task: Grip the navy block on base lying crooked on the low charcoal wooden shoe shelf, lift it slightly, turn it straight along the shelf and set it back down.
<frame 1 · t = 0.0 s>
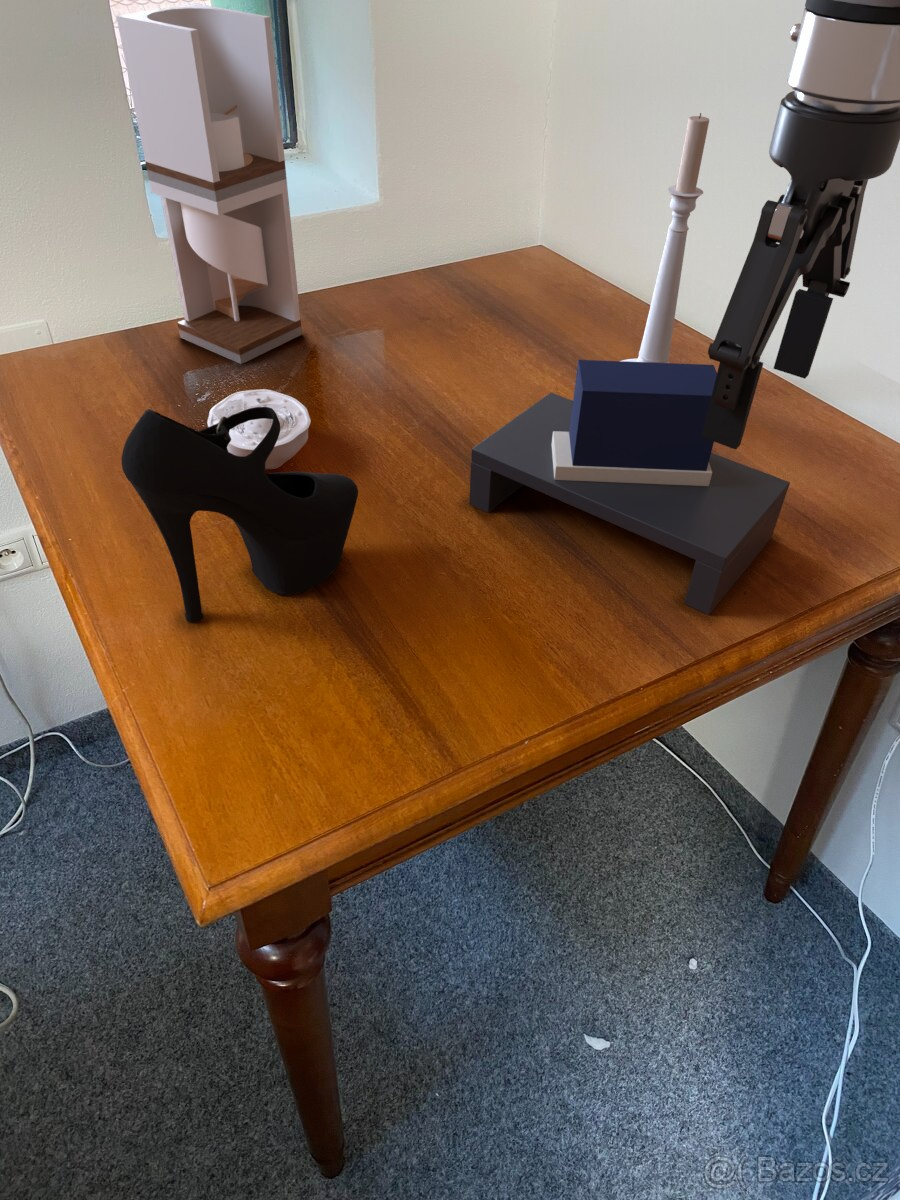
hand: (757, 405, 68), 18 cm above the table, tool pointing down, fingers open, 13 cm apart
high-heeled shoe: (266, 584, 78), on the table
navy block on base: (627, 464, 82), point 6 cm above the table, touching shoe shelf
shoe shelf: (617, 520, 86), on the table
cell model: (263, 458, 93), on the table
candlestick: (647, 392, 105), on the table
white architectural model: (241, 337, 114), on the table
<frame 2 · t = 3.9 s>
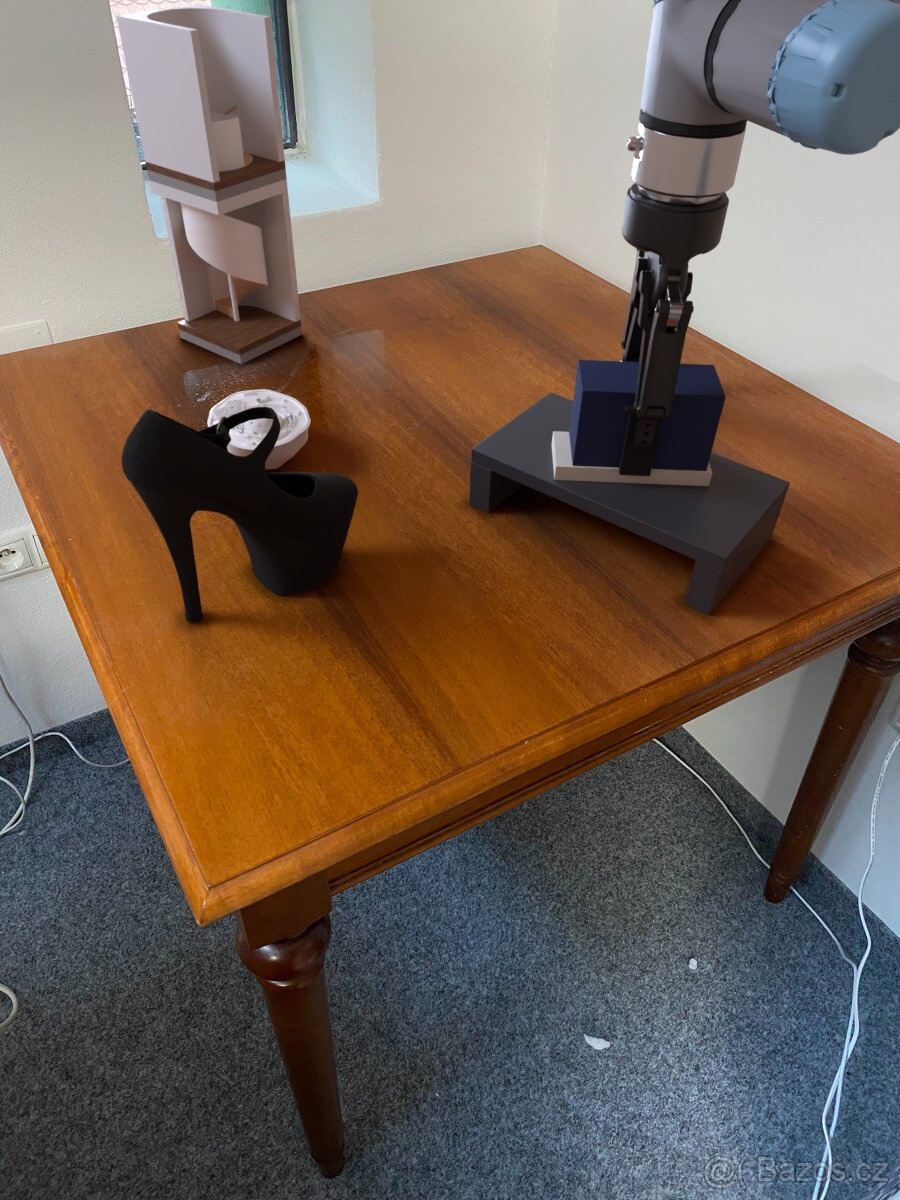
hand: (630, 452, 81), 8 cm above the table, tool pointing down, fingers closed on navy block on base, 6 cm apart
navy block on base: (627, 464, 82), point 6 cm above the table, touching gripper, shoe shelf
everything else where it was.
when the fingers open (8 cm above the table, at t = 7.8 s): navy block on base stays where it is, resting on shoe shelf.
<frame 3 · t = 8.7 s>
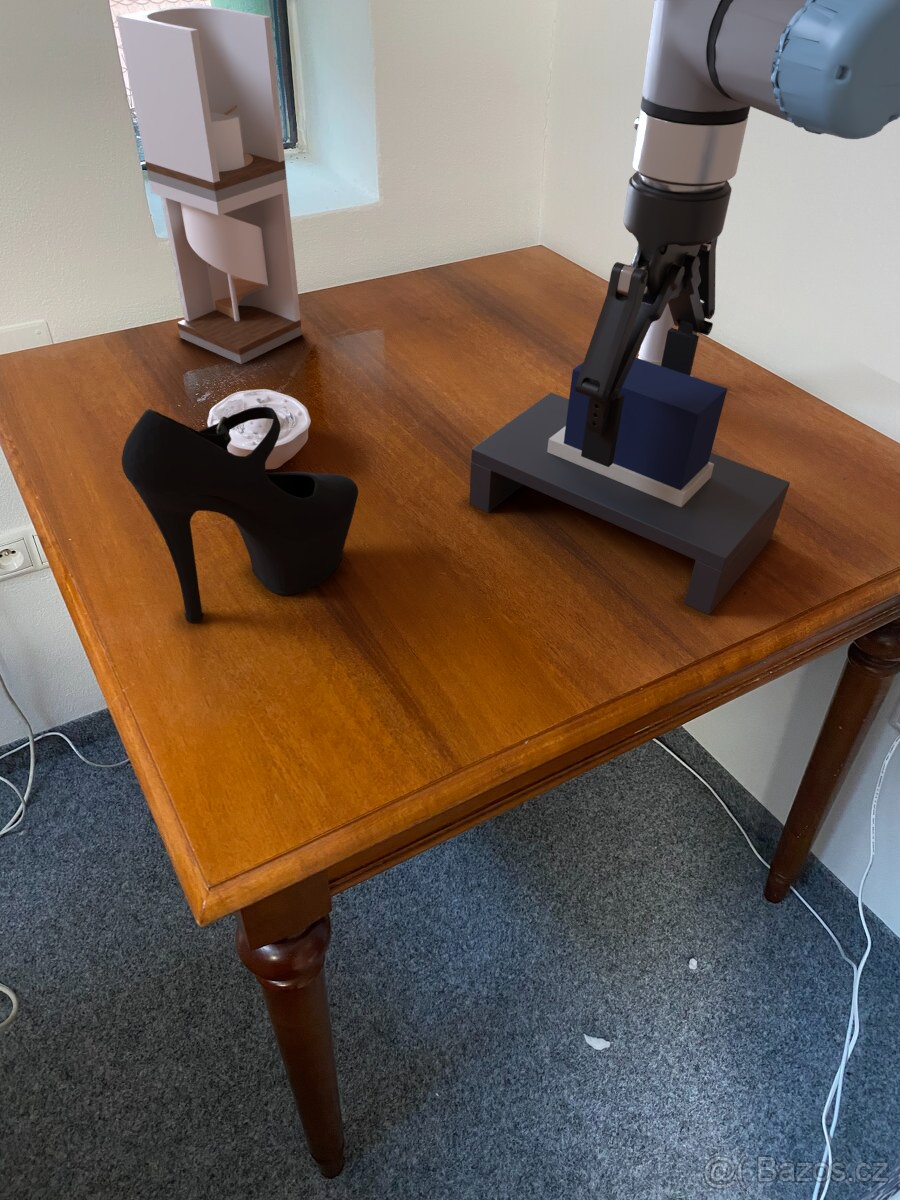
hand: (635, 427, 79), 10 cm above the table, tool pointing down, fingers open, 13 cm apart
navy block on base: (627, 464, 82), point 6 cm above the table, touching shoe shelf
everything else where it was.
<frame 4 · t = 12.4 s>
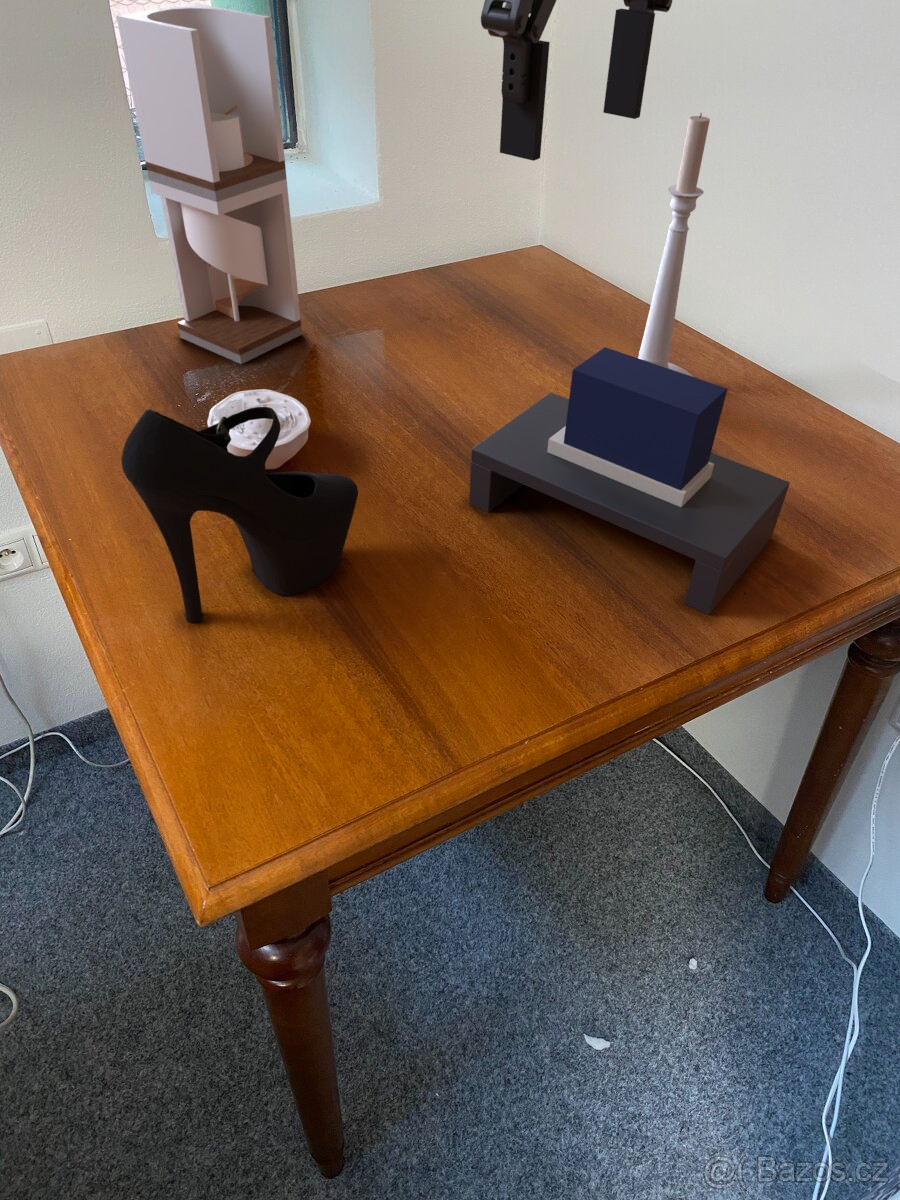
hand: (573, 134, 62), 35 cm above the table, tool pointing down, fingers open, 13 cm apart
nothing on the table moved.
at the end: navy block on base inside the target area on the shoe shelf (0.0 cm from its centre), point 6.5 cm above the shoe shelf's base; navy block on base tilted 0°; the gripper is holding nothing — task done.
